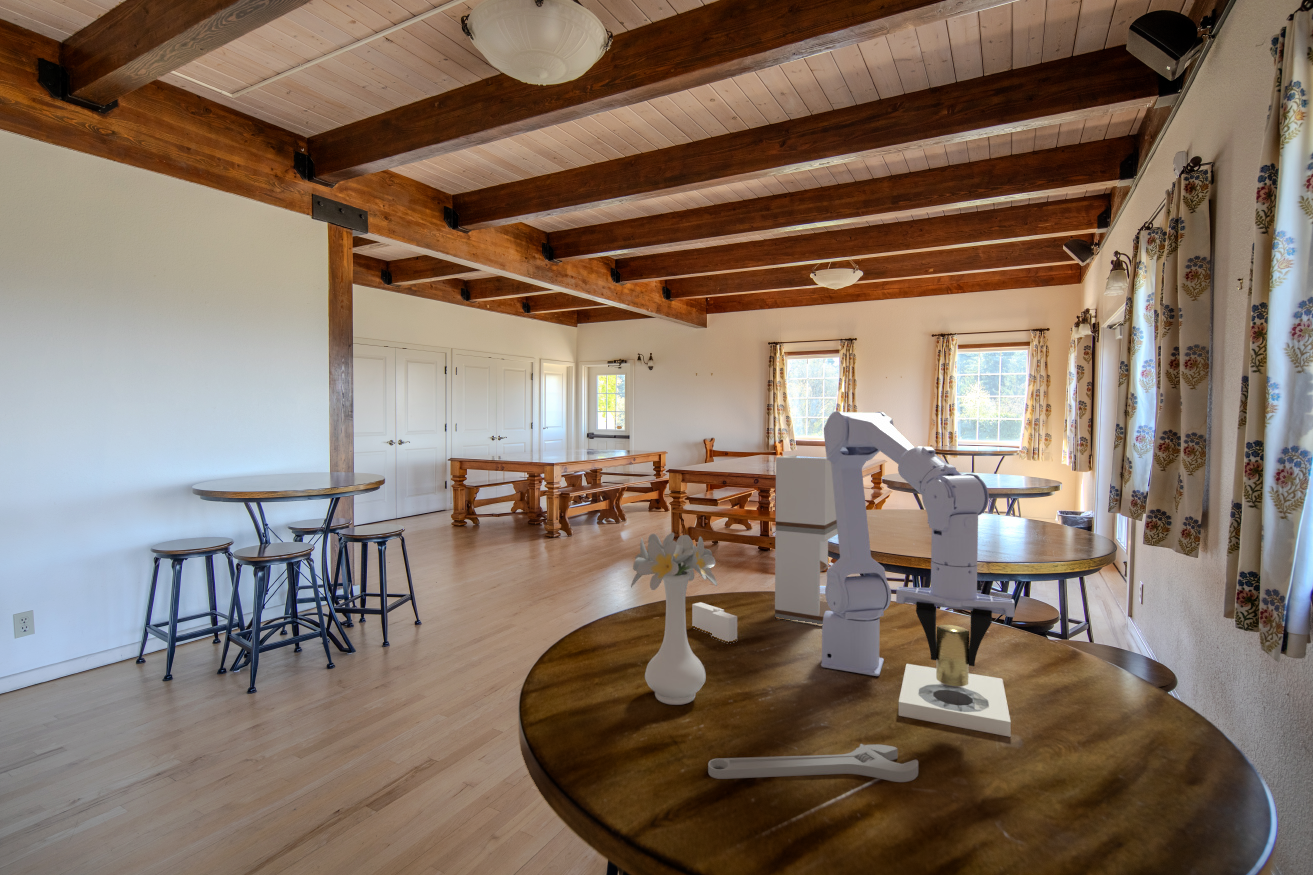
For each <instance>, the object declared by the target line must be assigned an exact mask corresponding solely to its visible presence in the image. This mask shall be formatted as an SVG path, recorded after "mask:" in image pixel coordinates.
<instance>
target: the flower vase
mask: <svg viewBox="0 0 1313 875" xmlns="http://www.w3.org/2000/svg"><path fill="white" fill-rule="evenodd" d="M674 537H675V533H674V532H671V533H669V534H667V535H666V536H665V538H663V541H661V539H660V537H659V536H658V534H656V533H651V534H650V535H648V539H647V541H648V542H647V544H648V545H647V549H646V545H645V543H644V539H643V537H641V538H640V544H639V551H640V552H639V553H638V554H637V555H635V557H634V559H635V560H634V563H633V566H632V569H633V571H635V572H636V574H635V575H634V578H633V579H632V582H631V585H630V588H633V587H634V585H635V584H636V583H637V582H638V580H639V579H640V578H641V577H643V576H647V575H648V576H649V575H651V578H650V581H649V587H650V590H651V591H655V590H656V589H658V587H659V586H660V584H661V583H662V581H663V586H664V592H665V623H664V624H665V627H664V636H663V640H662V643H661V646H660V648H659V650H658V652H656V653H655V655H653V657H652V658H651V659H650V660H649V662H648V663H647V666H646V669H645V673H644V679H645V681H646V684H647V685H648V687H649V688H650V689H651V691H653V692H654V696H655V699H656V700H658V701H659V702H660V703H663V704H666V705H673V706H674V705H675V706H679V705H685V704H689V703H691V702H693V701H694V700H695V698H696V693H698V692H699V691H700V690H701V689H702V687H703V685H705V683H706V679H707V678H706V676H707V674H706V669H705V666H704V665H703V663H702V661H701V660H700V658H699V657H698V656H696V655H695V653H694V652H693V650H692V648H691V646H690V643H689V641H688V640H689V639H688V634H687V621H686V596H687V595H686V594H687V589H688V583H689V581H690V582H691V581H693V580H694V579H695V572H694V571H696V572H697V573H698V574H699V576H701V578H702V579H703V580H704V581H706V580H708V581H709V582H710V583H712V584H713V585H714V586H716V587H717V586H718V581H717V579H716V576H715V575H714V574H713V571H712V569H711V568H713V567H714V566H716V559H715V557H714V555H713V552H712V550H710V549H708V548H705V544H704V539H703V537H702V536H699V537H698V541H697V544H696V545H695V544H694V541H693V540H692V538H691V537H690V535H688V534H684V535H683V534H682V535H680V536H679V537H678V538H677V540H674Z"/></svg>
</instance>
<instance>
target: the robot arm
mask: <svg viewBox="0 0 1313 875" xmlns="http://www.w3.org/2000/svg"><path fill="white" fill-rule="evenodd" d="M893 419H894V418H892V417H890V416H888V415H887V414H886V413H885V412H882V411H876V412H847V411H846V412H845V411H840V410H839V411H838V410H837V411H833V412H832V413H830V415H829V417H828V418H827V421H826V423H825V425H824V427H823V437H824V438H823V439H824V446H825V455H826V456H825V458H827V460H829V461H830V462H831V469H832V479H833V490H834V500H835V510H836V520H837V531H838V534H837V538H838V540H837V541H838V549H839V558H838V559H837V560H836V561H835V562H834V563H833V564H832V565H831V566H830V567H828V568H827V569H826V585H825V589H824V590H825V594H824V596H825V600H826V601H825V602H827V604H828V606H829V607H830V609H831V610H832V611H825V614H824V617H823V625H822V626H821V627H822V629H821V633H822V634H821V664H820V666H821V667H822V668H827V669H833V670H838V671H844V672H851V673H857V674H861V675H862V674H863V675H867V676H875V677H879V676H880V674H881V671H882V668H883V665H884V661H885V660H884V658H883V657H880V621H881V619H880V617H884V616H885V615H884V611H886V610H888V608H889V606H890V604H891V601H892V590H891V587H890V584H889V582H888V579H887V576H886V569H885V567H884V566H883V565H882V564H880V563H879V562H878V561H877V560H875V559H874V558H873V557H872V554H871V553H872V552H871V544H870V535H869V534H870V533H869V523H868V513H867V506H866V504H867V503H866V498H865V497H866V496H865V495H866V494H865V488H864V487H865V486H864V479H863V478H864V477H863V467H864V465H865V464H866V463H867V462H868V461H871V460H872V459H874V457H876V456H877V455H878V454H879V452H881V453H882V454H883V455H885V456H886V457H888V458H889V459H891V460H892V461H893V462H894V463H896V464H897V472H898V474H899V475H900V477H901V478H902V479H903V480H904V481H906V483H908V484H909V485H910V486H911V488H913V489H914V490H916V492H918V493H919V494H920V495H921V498H922V499H921V500H922V504H923V507H924V509H925V511H926V513H927V524H928V526H929V528H930V529H931V544H930V545H931V549H930V550H931V551H930V552H931V557H930V558H931V559H930V560H931V561H930V587H911V586H910V587H909V586H908V587H907V586H897V587H896V590H895V592H896V599H895V600H896V602H895V603H897V604H914V605H915V608H916V609H915V612H916V615H917V618H918V620H919V622H920V624H921V627H922V629H923V631H924V635H925V637H926V640H927V644H928V647H929V652H930V653H929V654H930V660H932V661H936V660H937V608H939V607H940V608H946V609H954V610H960V611H961V610H962V611H970V630H969V667H975V665H976V664H975V663H976V657H977V653H978V651H979V648H980V646H981V643H982V641H983V638H984V637H985V635H986V633H987V631H988V630H989V628H990V627H991V625H992V623H993V614H996V615H1004V617H1009V618H1015V612H1016V611H1015V610H1016V609H1015V605H1016V603H1015V600H1014V599H1013V598H1005V597H1000V596H993V595H989V594H983V593H980V592H979V593H978V550H979V549H978V546H979V544H978V543H979V542H978V541H979V540H978V539H979V536H978V535H979V516H981V515H983V514H984V512H985V511H986V510H987V508H988V505H989V500H990V496H989V495H990V494H989V490H988V487H987V485H986V483H985V482H984V480H982V479H981V478H980V476H979V475H978V474H976V473H965V474H964V473H963V472H959V471H958V470H957V467H956V466H955V465H954V464H949V463H948V462H947V461H945V460H944V459H942V458H941V457H940V456H939V455H937V454H936V451H937V450H936V449H934V448H933V447H932V446H916V447H915V446H914V445H913V444H912V443H911V442H910V441H909V440H908V439H907V438H906V437H905V436H904V435H902V433H900V431H899V430H897V429H896V428H895V426H894V421H893ZM856 574H857V575H856ZM859 574H864V575H859ZM850 575H853V576H850ZM854 575H855V576H854Z"/></svg>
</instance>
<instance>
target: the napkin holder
mask: <svg viewBox="0 0 1313 875" xmlns="http://www.w3.org/2000/svg"><path fill="white" fill-rule="evenodd" d="M691 606H692V607H691V608H692V610H691V612H692V613H691V614H692V615H691V616H692V617H691V618H692V620H691V623H692V624H691V625H692V626H695V627H697V628H700V629H702V630H705V631H708V632H710V633H712V635H711V637H712V636H714V637H717V638H719V639H722V640H725V641H728V642H729V641H733V640H735V639H737V640H738V615H734V614H732V613H729V612H725V609H722V608H720V607H717V606H713V605H710V604H708V603H704V602H701V601H700V602H696V603H692V605H691ZM692 626H691V627H692Z"/></svg>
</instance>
